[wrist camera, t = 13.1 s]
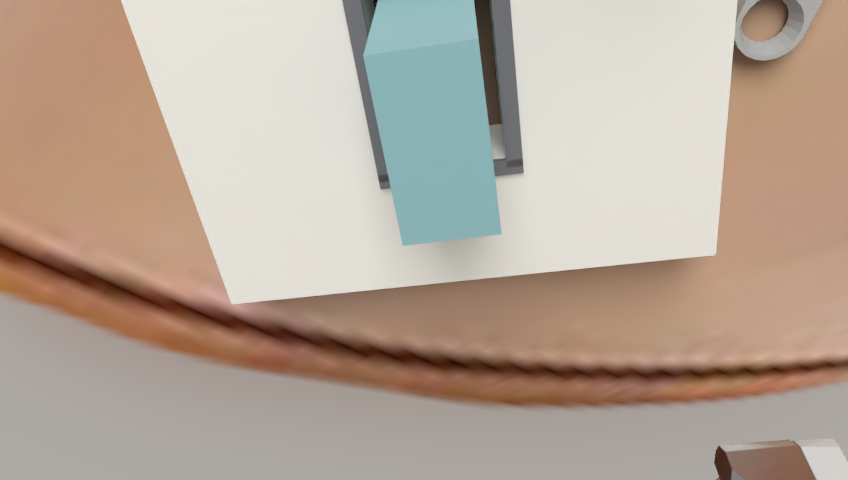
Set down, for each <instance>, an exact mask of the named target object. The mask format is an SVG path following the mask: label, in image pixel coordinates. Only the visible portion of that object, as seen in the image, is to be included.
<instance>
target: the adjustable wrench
mask: <svg viewBox="0 0 848 480" xmlns="http://www.w3.org/2000/svg"><path fill="white" fill-rule="evenodd" d="M758 1H760V0H738V1H737V13H736V24H735V36H734V44H735V46H736V47H737V48H738V49H739V50H740V51H741V52H742V53H743V54H744V55H745V56H747V57H749V58H752V59H754V60H763V61H766V60H771V59H776V58H778V57H780V56H782V55H784V54H786V53H788V52H790V51H791V50H792V49H793V48H794V47H795V46H797V45H798V44H799V42H800V41H801V39H802V38H803V37H804V35H805V34H806V32H807V30H808V28H809V26H810V24H811V22H812V20H813V18H814V17H815V15H816V13H817V11H818V9H819V7H820V5H821V3H822V1H823V0H782V1H783V2H784V3H785V4H786V5H787V8H788V18H787V21H786V23H785V25H784V26H783V28H782V29H781V31H779V32H778V33H777V34H776V35H775V36H774V37H772V38H770V39H768V40H766V41H761V42H758V41H753V40H750V39H748V38H747V37H746V36H745V35H744V33H743V30H742V20H743V18H744V16H745V15H746V13H747V12H748V10H749V9H750V8H751V7H752V6H753V5H754V4H755V3H757V2H758Z"/></svg>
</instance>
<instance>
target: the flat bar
mask: <svg viewBox="0 0 848 480" xmlns="http://www.w3.org/2000/svg"><path fill="white" fill-rule="evenodd" d="M363 57H364V62H365V67H366V72H367V76H368V81H369V86H370V91H371V96H372V100H373V105H374V110H375V115H376V120H377V124H378V129H379V134H380V139H381V144H382V148H383V153H384V158H385V163H386V168H387V172H388V177H389V182H390V187H391V192H392V197H393V201H394V206H395V211H396V216H397V221H398V225H399V230H400V235H401V240H402V245H403V246H406V245H414V244H423V243H431V242H440V241H448V240H457V239H465V238H474V237H482V236H491V235H499V234H502V233H501V224H500V216H499V207H498V199H497V190H496V182H495V173H494V165H493V156H492V148H491V139H490V131H489V122H488V114H487V105H486V97H485V88H484V80H483V72H482V63H481V55H480V46H479V38H478V29H477V21H476V13H475V4H474V0H378V2H377V6H376V9H375V13H374V17H373V21H372V24H371V28H370V32H369V36H368V39H367V43H366V47H365V51H364V54H363Z"/></svg>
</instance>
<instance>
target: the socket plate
mask: <svg viewBox="0 0 848 480" xmlns="http://www.w3.org/2000/svg"><path fill="white" fill-rule="evenodd" d="M737 1H738V0H489V5H490V15H491V26H492V36H493V47H494V57H495V68H496V78H497V89H498V99H499V110H500V120H501V124H496V125H489V131H490V139H491V148H492V156H493V165H494V173H495V182H496V190H497V199H498V207H499V216H500V224H501V233H502V234H499V235H491V236H482V237H474V238H465V239H457V240H448V241H440V242H431V243H423V244H414V245H406V246H403V245H402V240H401V235H400V230H399V225H398V221H397V216H396V211H395V206H394V201H393V197H392V192H391V187H390V182H389V177H388V172H387V168H386V163H385V158H384V153H383V148H382V144H381V139H380V134H379V129H378V124H377V120H376V115H375V110H374V105H373V100H372V96H371V91H370V86H369V81H368V76H367V72H366V67H365V62H364V57H363V54H364V51H365V47H366V43H367V39H368V36H369V32H370V28H371V24H372V21H373V17H374V13H375V5H374V0H121V2H122V5H123V7H124V10H125V13H126V15H127V18H128V21H129V24H130V26H131V29H132V32H133V35H134V37H135V40H136V43H137V46H138V48H139V51H140V54H141V57H142V59H143V62H144V65H145V68H146V70H147V73H148V76H149V79H150V81H151V84H152V87H153V90H154V92H155V95H156V98H157V101H158V103H159V106H160V109H161V112H162V114H163V117H164V120H165V123H166V125H167V128H168V131H169V134H170V136H171V139H172V142H173V145H174V147H175V150H176V153H177V156H178V158H179V161H180V164H181V167H182V169H183V172H184V175H185V177H186V180H187V183H188V186H189V188H190V191H191V194H192V197H193V199H194V202H195V205H196V208H197V210H198V213H199V216H200V219H201V221H202V224H203V227H204V230H205V232H206V235H207V238H208V241H209V243H210V246H211V249H212V252H213V254H214V257H215V260H216V263H217V265H218V268H219V271H220V274H221V276H222V279H223V282H224V285H225V287H226V290H227V293H228V296H229V298H230V301H231V304H240V303H250V302H260V301H270V300H279V299H289V298H299V297H309V296H319V295H328V294H338V293H348V292H358V291H368V290H377V289H387V288H397V287H407V286H417V285H426V284H436V283H446V282H456V281H466V280H475V279H485V278H495V277H505V276H515V275H524V274H534V273H544V272H554V271H564V270H573V269H583V268H593V267H603V266H613V265H622V264H632V263H642V262H652V261H662V260H671V259H681V258H691V257H701V256H711V255H716V245H717V234H718V222H719V211H720V199H721V187H722V176H723V164H724V152H725V141H726V129H727V117H728V106H729V94H730V83H731V71H732V59H733V48H734V36H735V24H736V13H737Z"/></svg>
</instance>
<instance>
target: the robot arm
mask: <svg viewBox="0 0 848 480" xmlns="http://www.w3.org/2000/svg"><path fill="white" fill-rule="evenodd" d="M714 463H715V466H716V469H717V472H718V474H719V478H717V479H716V480H848V460H847V459H846V457H845V455H844V453H843V451H842V449H841V448H840V446H839V444H838V443H837V442H836V441H834V440H833V439H832V438H822V439H806V440H793V441H790V440H781V441H768V442H755V443H742V444H730V445H719V446H718V448H717V450H716V454H715V461H714Z"/></svg>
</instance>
